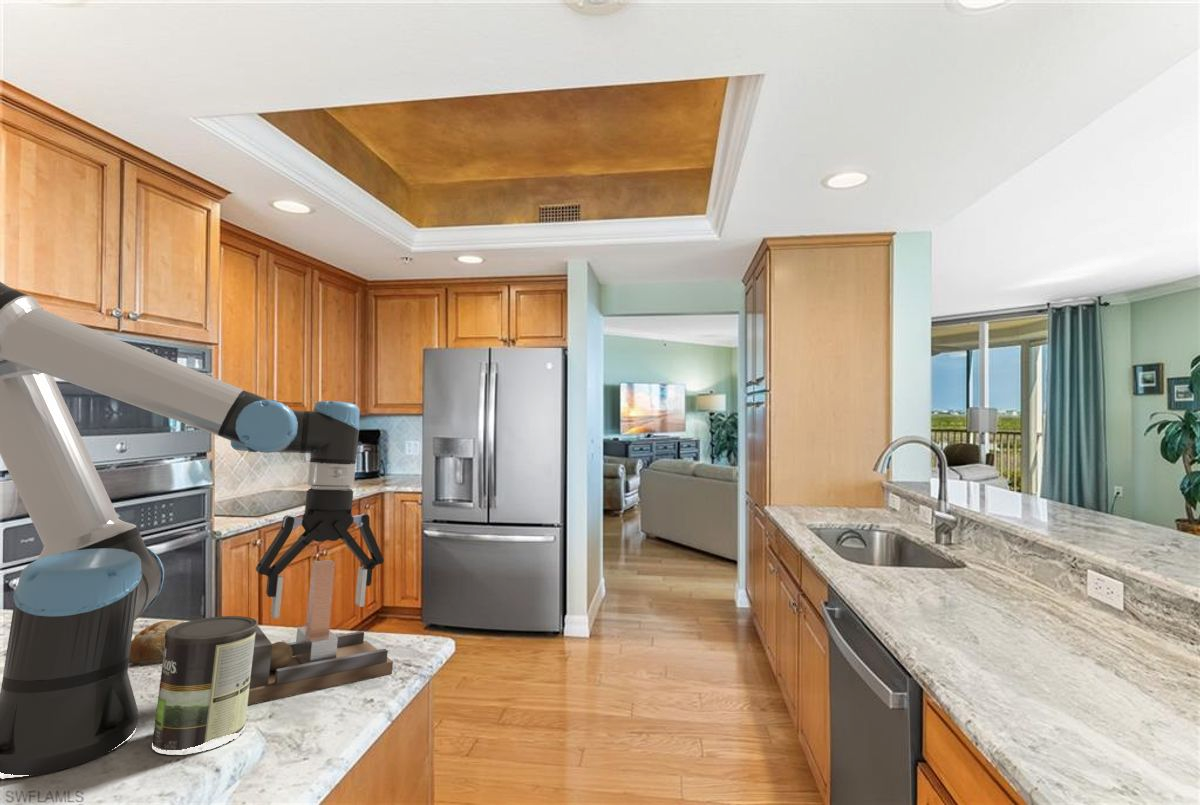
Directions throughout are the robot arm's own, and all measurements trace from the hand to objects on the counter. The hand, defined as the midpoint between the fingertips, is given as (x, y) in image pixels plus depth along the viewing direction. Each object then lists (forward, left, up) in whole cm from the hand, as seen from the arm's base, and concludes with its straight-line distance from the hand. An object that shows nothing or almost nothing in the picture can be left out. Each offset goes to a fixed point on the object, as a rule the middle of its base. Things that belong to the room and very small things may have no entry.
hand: (319, 610), depth 95 cm
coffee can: (-17, -14, -11) cm, 25 cm away
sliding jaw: (0, 0, -8) cm, 8 cm away
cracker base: (0, 0, -11) cm, 11 cm away
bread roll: (-20, +26, -11) cm, 34 cm away
